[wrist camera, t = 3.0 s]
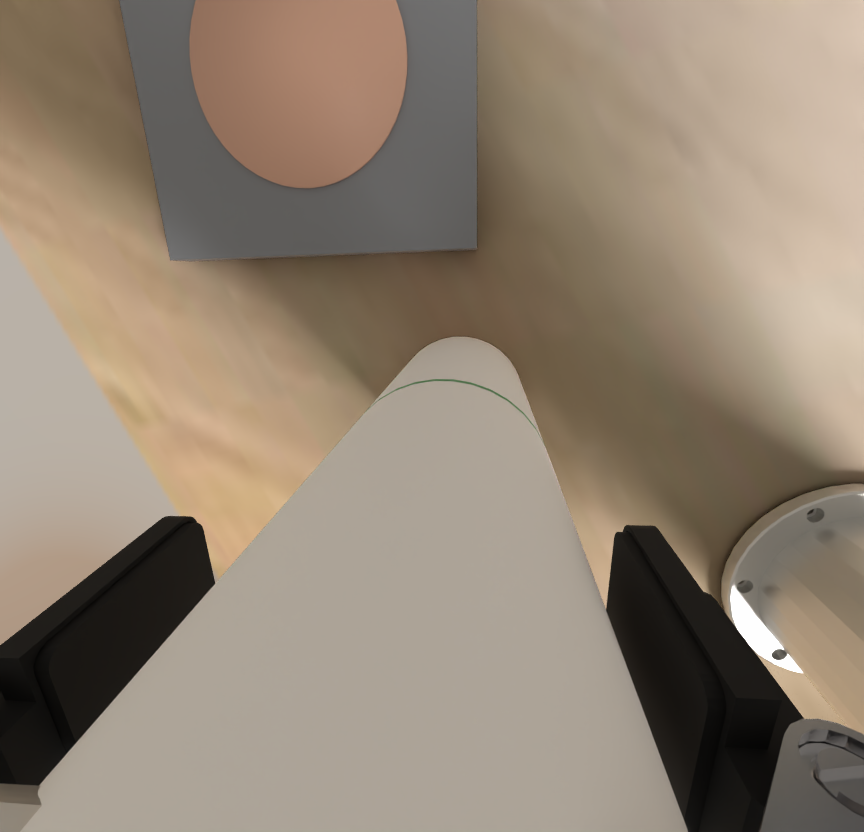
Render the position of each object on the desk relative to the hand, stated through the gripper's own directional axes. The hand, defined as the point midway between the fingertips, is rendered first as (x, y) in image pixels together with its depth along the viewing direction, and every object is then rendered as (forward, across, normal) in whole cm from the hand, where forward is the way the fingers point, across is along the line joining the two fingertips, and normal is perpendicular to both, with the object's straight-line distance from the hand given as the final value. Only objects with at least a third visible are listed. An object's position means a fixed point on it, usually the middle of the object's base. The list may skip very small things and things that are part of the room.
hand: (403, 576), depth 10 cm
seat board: (+16, +6, -16) cm, 23 cm away
